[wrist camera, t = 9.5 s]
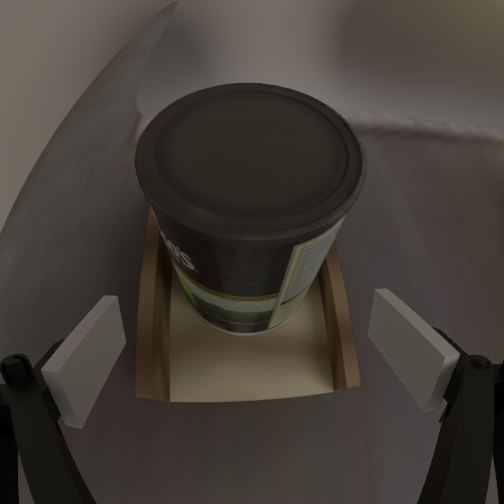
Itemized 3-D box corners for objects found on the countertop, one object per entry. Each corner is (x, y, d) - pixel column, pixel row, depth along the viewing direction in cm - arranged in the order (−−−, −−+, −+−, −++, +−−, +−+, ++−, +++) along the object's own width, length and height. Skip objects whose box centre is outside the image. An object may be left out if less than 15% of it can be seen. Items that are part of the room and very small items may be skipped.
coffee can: (201, 354, 22) (150, 273, 9) (171, 240, 26) (129, 104, 14) (328, 313, 24) (411, 201, 11) (282, 211, 28) (305, 74, 16)
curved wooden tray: (340, 390, 22) (372, 382, 16) (162, 401, 21) (135, 397, 15) (306, 190, 32) (318, 144, 26) (171, 194, 31) (160, 148, 25)
